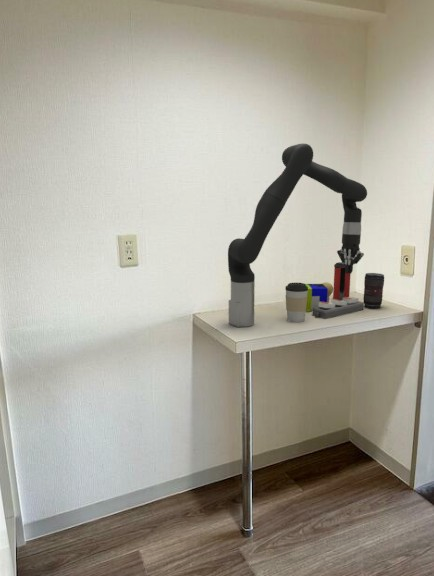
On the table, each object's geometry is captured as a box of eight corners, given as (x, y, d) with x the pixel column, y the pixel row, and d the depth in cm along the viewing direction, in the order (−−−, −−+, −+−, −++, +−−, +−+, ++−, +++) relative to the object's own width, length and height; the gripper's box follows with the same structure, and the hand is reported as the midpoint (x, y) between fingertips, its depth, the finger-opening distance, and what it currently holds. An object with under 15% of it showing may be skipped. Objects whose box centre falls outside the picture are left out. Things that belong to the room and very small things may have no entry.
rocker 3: (349, 303, 181) (349, 298, 180) (342, 301, 184) (342, 297, 183) (358, 302, 184) (358, 297, 184) (351, 300, 187) (351, 296, 187)
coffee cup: (284, 315, 176) (285, 280, 173) (306, 316, 175) (307, 281, 172) (284, 322, 168) (285, 285, 164) (307, 323, 166) (309, 285, 163)
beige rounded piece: (314, 303, 196) (316, 281, 194) (325, 302, 199) (326, 281, 197) (324, 306, 190) (326, 284, 188) (335, 304, 193) (336, 283, 191)
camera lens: (383, 309, 184) (386, 276, 181) (364, 309, 185) (366, 275, 182) (380, 305, 192) (382, 272, 188) (361, 304, 193) (363, 272, 190)
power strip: (322, 319, 170) (322, 311, 170) (309, 315, 176) (309, 308, 175) (363, 309, 184) (363, 302, 184) (350, 306, 190) (350, 299, 189)
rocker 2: (337, 304, 177) (338, 300, 176) (330, 303, 180) (331, 298, 179) (346, 306, 180) (347, 301, 180) (339, 304, 183) (340, 299, 183)
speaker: (332, 302, 198) (334, 264, 194) (332, 298, 205) (333, 261, 201) (350, 303, 196) (352, 264, 192) (348, 299, 203) (350, 262, 199)
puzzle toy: (326, 311, 183) (327, 288, 181) (303, 311, 183) (304, 288, 181) (321, 305, 192) (322, 283, 190) (299, 305, 193) (300, 283, 191)
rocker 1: (324, 308, 173) (325, 303, 172) (318, 306, 176) (319, 301, 175) (334, 308, 176) (335, 303, 176) (327, 306, 179) (328, 301, 179)
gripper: (333, 232, 182) (330, 271, 186) (358, 234, 172) (355, 276, 175) (345, 231, 186) (342, 270, 190) (370, 233, 176) (367, 274, 179)
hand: (348, 273), depth 183 cm, fingers closed
